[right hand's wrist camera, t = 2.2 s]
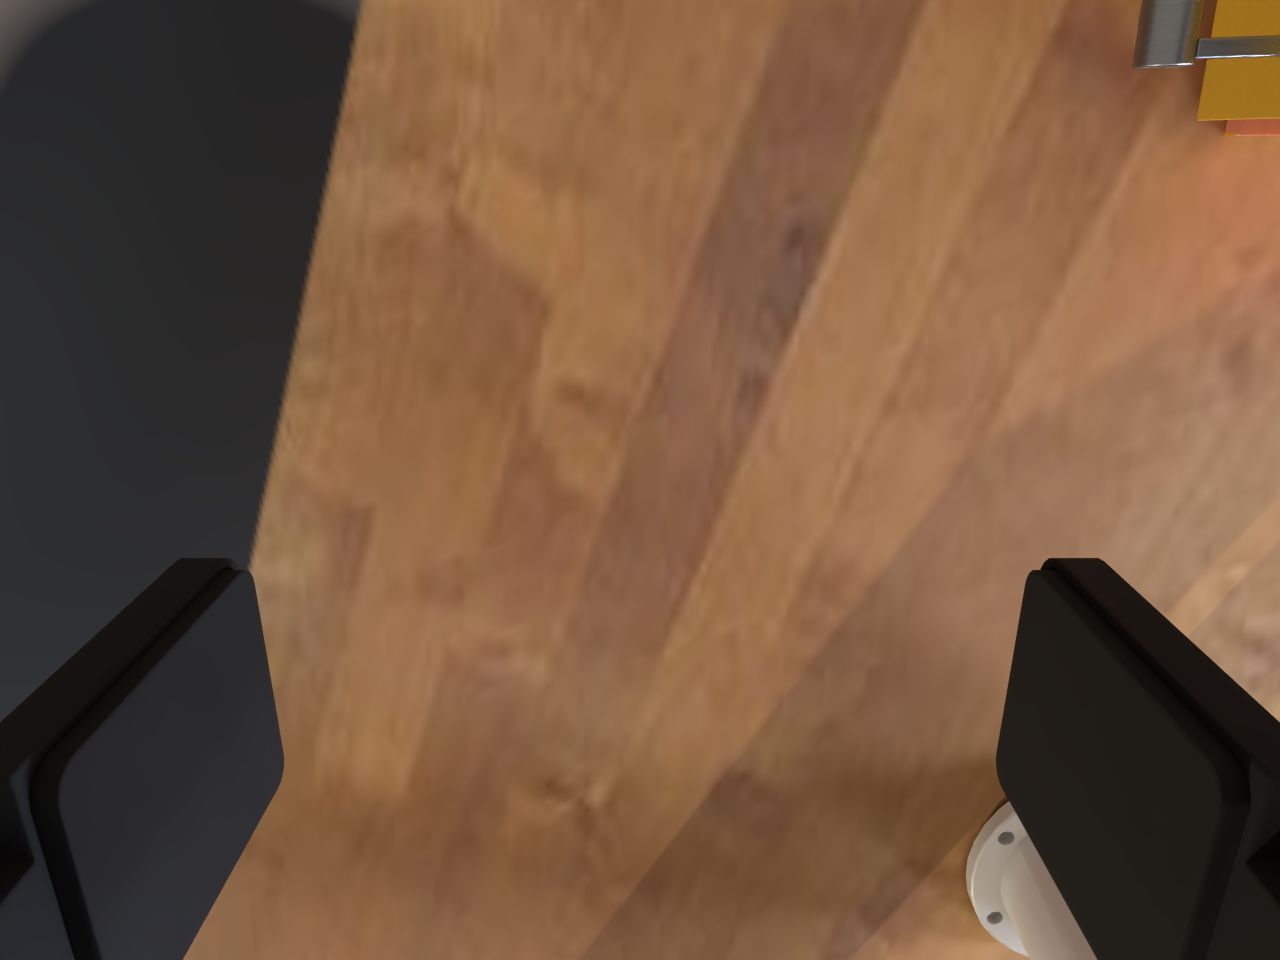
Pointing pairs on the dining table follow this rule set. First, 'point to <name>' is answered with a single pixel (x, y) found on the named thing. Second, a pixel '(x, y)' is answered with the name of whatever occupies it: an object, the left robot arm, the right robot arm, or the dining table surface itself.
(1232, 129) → the cabinet
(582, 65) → the dining table surface
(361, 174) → the dining table surface
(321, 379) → the dining table surface
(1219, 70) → the drawer
